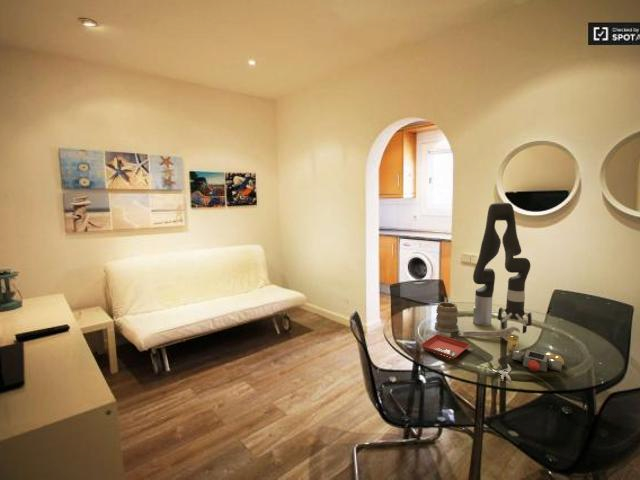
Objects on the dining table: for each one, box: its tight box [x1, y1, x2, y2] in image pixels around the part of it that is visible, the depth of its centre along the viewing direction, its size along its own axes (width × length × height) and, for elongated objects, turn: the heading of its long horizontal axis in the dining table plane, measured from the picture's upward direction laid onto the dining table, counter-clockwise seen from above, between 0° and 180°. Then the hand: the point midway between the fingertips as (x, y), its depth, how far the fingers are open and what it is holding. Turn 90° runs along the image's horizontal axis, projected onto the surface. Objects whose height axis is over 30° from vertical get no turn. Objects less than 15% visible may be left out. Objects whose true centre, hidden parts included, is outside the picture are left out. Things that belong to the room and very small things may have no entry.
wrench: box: [457, 325, 521, 342], centre depth 187 cm, size 8×2×30 cm
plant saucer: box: [420, 333, 471, 359], centre depth 176 cm, size 18×18×3 cm
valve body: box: [511, 349, 563, 373], centre depth 158 cm, size 19×13×5 cm
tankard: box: [434, 296, 459, 334], centre depth 205 cm, size 20×13×15 cm, turn 161°
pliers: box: [485, 361, 512, 383], centre depth 154 cm, size 10×2×15 cm
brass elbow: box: [543, 352, 565, 367], centre depth 161 cm, size 7×4×6 cm
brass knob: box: [506, 333, 520, 354], centre depth 172 cm, size 5×5×8 cm
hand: (513, 330), depth 171 cm, fingers open, 8 cm apart
